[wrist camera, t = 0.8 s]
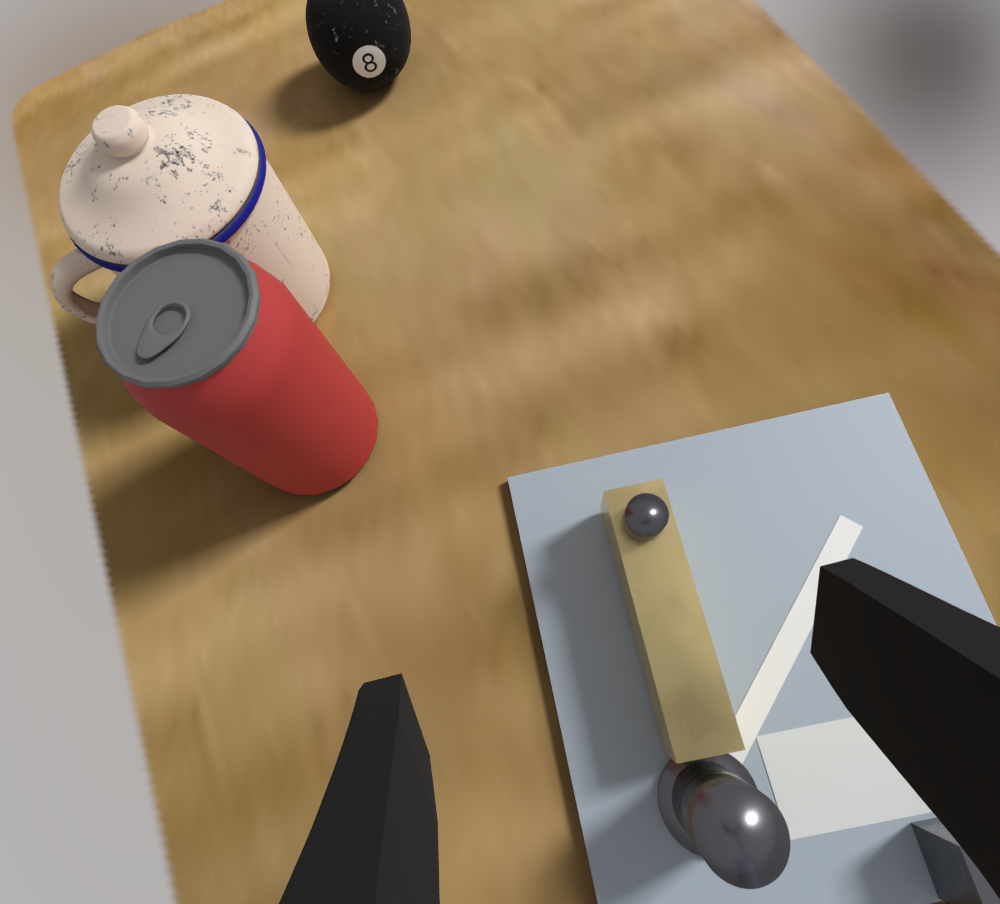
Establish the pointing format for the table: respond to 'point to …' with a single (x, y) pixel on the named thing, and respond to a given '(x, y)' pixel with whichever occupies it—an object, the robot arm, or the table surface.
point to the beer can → (236, 366)
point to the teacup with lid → (180, 197)
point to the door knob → (724, 820)
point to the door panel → (742, 645)
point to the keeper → (951, 866)
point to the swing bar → (669, 625)
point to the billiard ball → (360, 39)
